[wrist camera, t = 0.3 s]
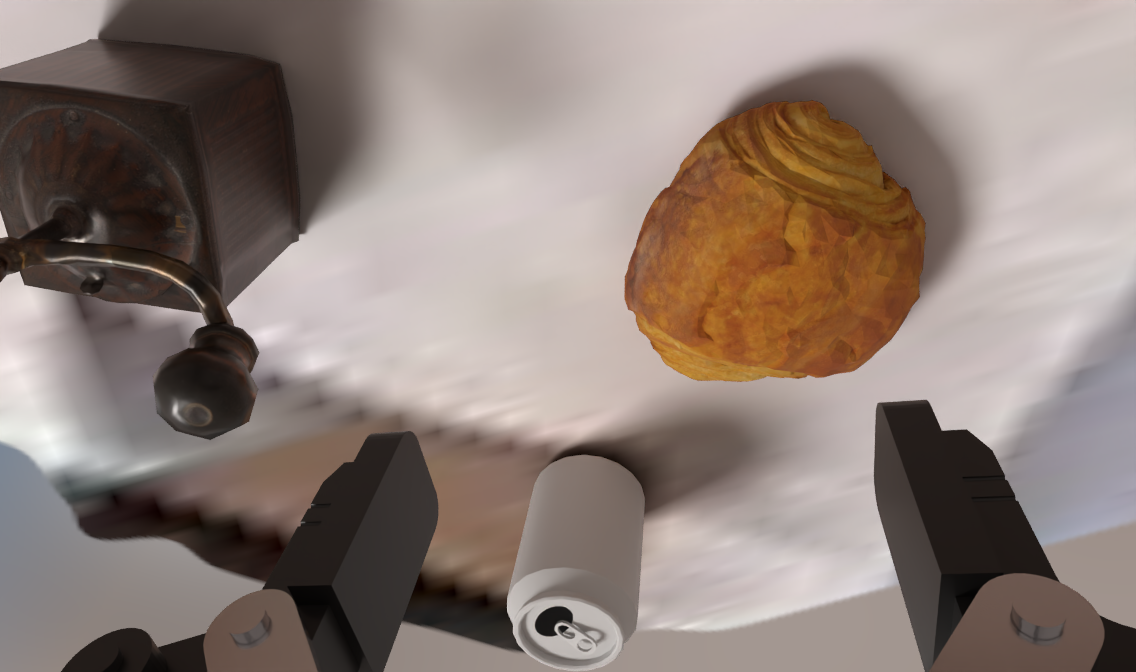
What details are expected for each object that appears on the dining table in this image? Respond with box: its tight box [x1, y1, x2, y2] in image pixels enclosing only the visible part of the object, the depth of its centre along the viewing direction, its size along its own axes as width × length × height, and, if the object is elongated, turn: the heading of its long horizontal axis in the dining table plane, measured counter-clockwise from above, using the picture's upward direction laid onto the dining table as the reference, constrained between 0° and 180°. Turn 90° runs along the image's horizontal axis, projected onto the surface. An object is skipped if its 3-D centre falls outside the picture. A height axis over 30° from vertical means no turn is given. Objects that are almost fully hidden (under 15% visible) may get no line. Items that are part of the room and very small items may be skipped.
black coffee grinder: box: [0, 39, 300, 440], centre depth 36 cm, size 16×11×18 cm
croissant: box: [625, 100, 926, 382], centre depth 40 cm, size 14×16×8 cm
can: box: [507, 455, 645, 671], centre depth 48 cm, size 8×8×12 cm
